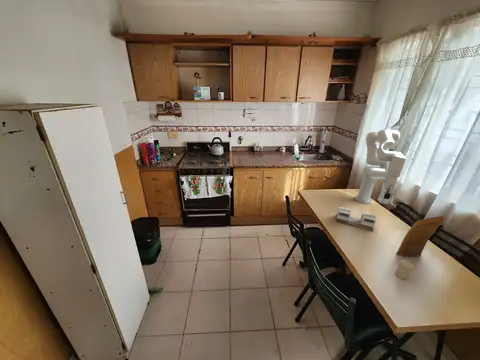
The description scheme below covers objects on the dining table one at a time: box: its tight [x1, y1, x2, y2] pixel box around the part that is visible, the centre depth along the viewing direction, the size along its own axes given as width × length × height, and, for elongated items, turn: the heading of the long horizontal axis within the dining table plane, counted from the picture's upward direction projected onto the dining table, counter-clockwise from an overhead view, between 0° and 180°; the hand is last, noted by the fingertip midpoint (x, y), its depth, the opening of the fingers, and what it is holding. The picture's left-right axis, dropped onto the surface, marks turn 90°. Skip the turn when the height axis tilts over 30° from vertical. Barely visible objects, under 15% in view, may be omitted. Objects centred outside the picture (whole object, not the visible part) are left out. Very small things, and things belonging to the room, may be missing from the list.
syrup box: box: [377, 181, 397, 205], centre depth 147 cm, size 6×6×14 cm
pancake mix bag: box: [395, 215, 444, 258], centre depth 120 cm, size 7×19×28 cm, turn 95°
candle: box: [395, 259, 415, 281], centre depth 109 cm, size 6×6×10 cm
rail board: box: [335, 206, 377, 232], centre depth 153 cm, size 10×24×8 cm, turn 65°
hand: (385, 196), depth 148 cm, fingers closed on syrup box, 7 cm apart
